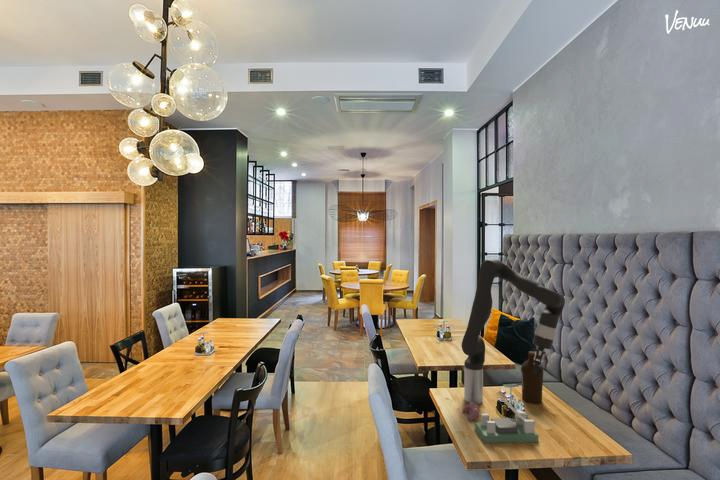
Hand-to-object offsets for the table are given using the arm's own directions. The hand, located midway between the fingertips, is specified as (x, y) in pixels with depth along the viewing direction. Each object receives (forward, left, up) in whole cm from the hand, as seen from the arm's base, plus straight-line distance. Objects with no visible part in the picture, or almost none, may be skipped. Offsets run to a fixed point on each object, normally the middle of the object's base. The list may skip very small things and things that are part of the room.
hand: (534, 372), depth 160 cm
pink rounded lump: (-15, -23, -26) cm, 38 cm away
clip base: (+3, -14, -26) cm, 30 cm away
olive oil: (-32, +15, -26) cm, 44 cm away
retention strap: (+3, -12, -15) cm, 19 cm away
